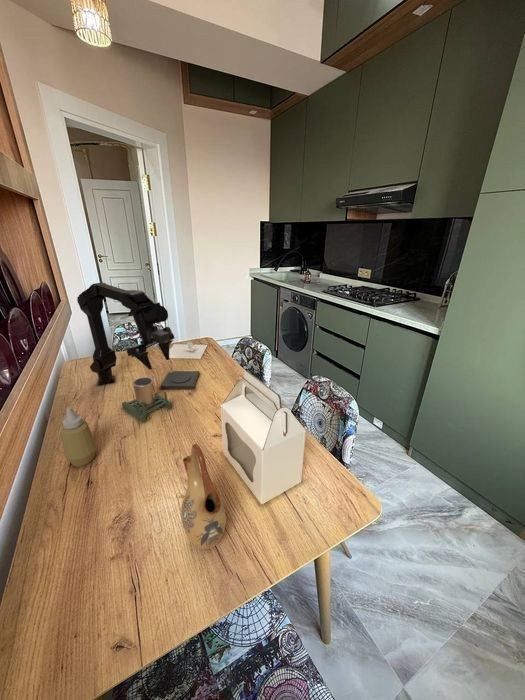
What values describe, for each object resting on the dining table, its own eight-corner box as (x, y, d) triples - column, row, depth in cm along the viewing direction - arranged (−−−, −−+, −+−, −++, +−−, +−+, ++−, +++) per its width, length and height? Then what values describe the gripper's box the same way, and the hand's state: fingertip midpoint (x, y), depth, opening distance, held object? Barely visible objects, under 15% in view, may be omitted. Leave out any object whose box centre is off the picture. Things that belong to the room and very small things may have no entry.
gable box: (222, 452, 89) (218, 371, 78) (258, 437, 96) (259, 360, 85) (262, 505, 72) (263, 411, 61) (302, 482, 79) (310, 394, 68)
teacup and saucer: (195, 352, 160) (195, 345, 159) (181, 352, 160) (180, 345, 159) (198, 346, 168) (198, 340, 167) (185, 346, 168) (184, 340, 167)
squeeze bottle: (105, 454, 87) (92, 404, 80) (79, 473, 81) (63, 420, 74) (87, 446, 90) (73, 397, 84) (61, 464, 84) (44, 412, 77)
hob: (160, 389, 123) (160, 384, 123) (169, 374, 136) (169, 369, 136) (193, 389, 124) (193, 384, 123) (199, 374, 137) (199, 369, 136)
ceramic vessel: (175, 515, 69) (163, 430, 60) (210, 499, 74) (204, 417, 64) (197, 582, 56) (186, 487, 47) (239, 557, 61) (237, 466, 51)
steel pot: (135, 400, 111) (132, 379, 107) (154, 396, 114) (151, 375, 110) (137, 409, 105) (133, 387, 101) (157, 405, 108) (154, 383, 104)
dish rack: (122, 408, 110) (119, 391, 107) (151, 395, 119) (148, 379, 116) (142, 422, 102) (139, 404, 99) (171, 408, 111) (169, 391, 108)
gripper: (140, 329, 95) (156, 373, 99) (178, 315, 110) (190, 353, 114) (118, 334, 100) (134, 375, 104) (157, 320, 116) (170, 356, 120)
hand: (159, 364), depth 110 cm, fingers open, 9 cm apart
